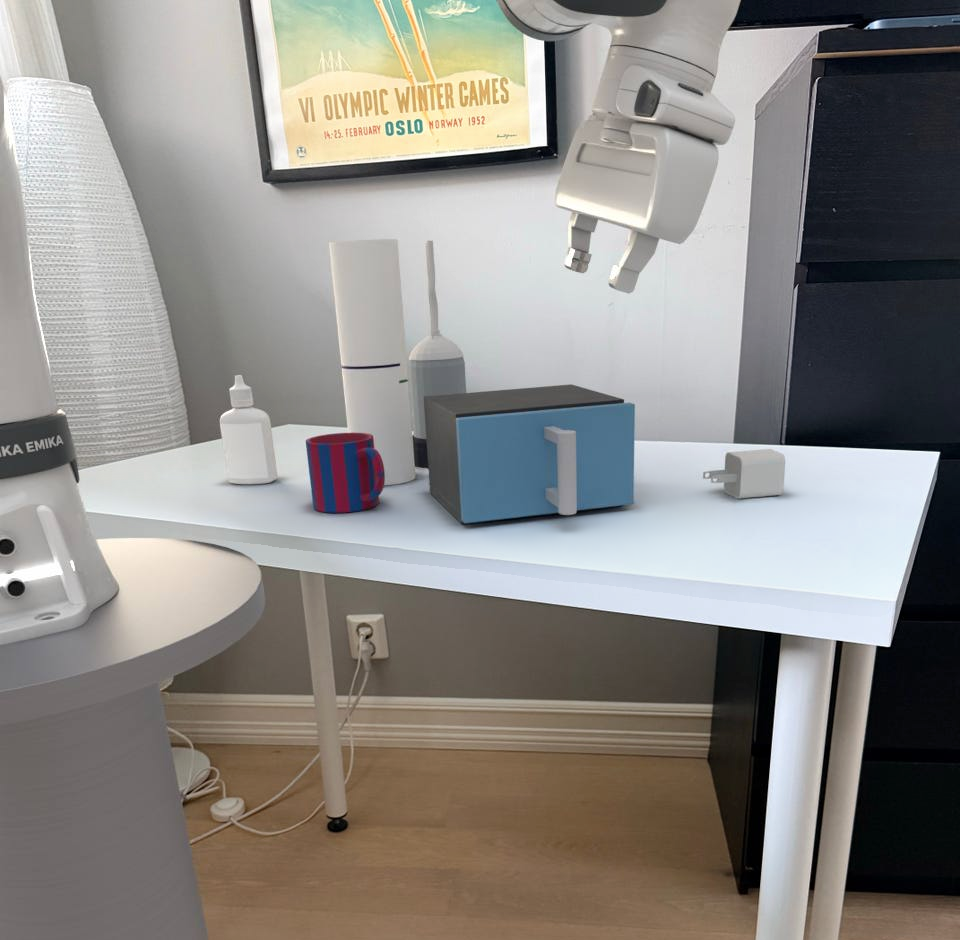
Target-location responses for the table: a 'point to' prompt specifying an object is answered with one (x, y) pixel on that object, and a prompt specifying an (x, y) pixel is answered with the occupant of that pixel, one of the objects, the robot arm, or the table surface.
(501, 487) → the drawer
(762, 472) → the usb wall charger
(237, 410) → the eye dropper bottle
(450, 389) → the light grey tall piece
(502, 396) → the dark grey cabinet
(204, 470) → the table surface
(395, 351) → the cylindrical container
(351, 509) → the mug
